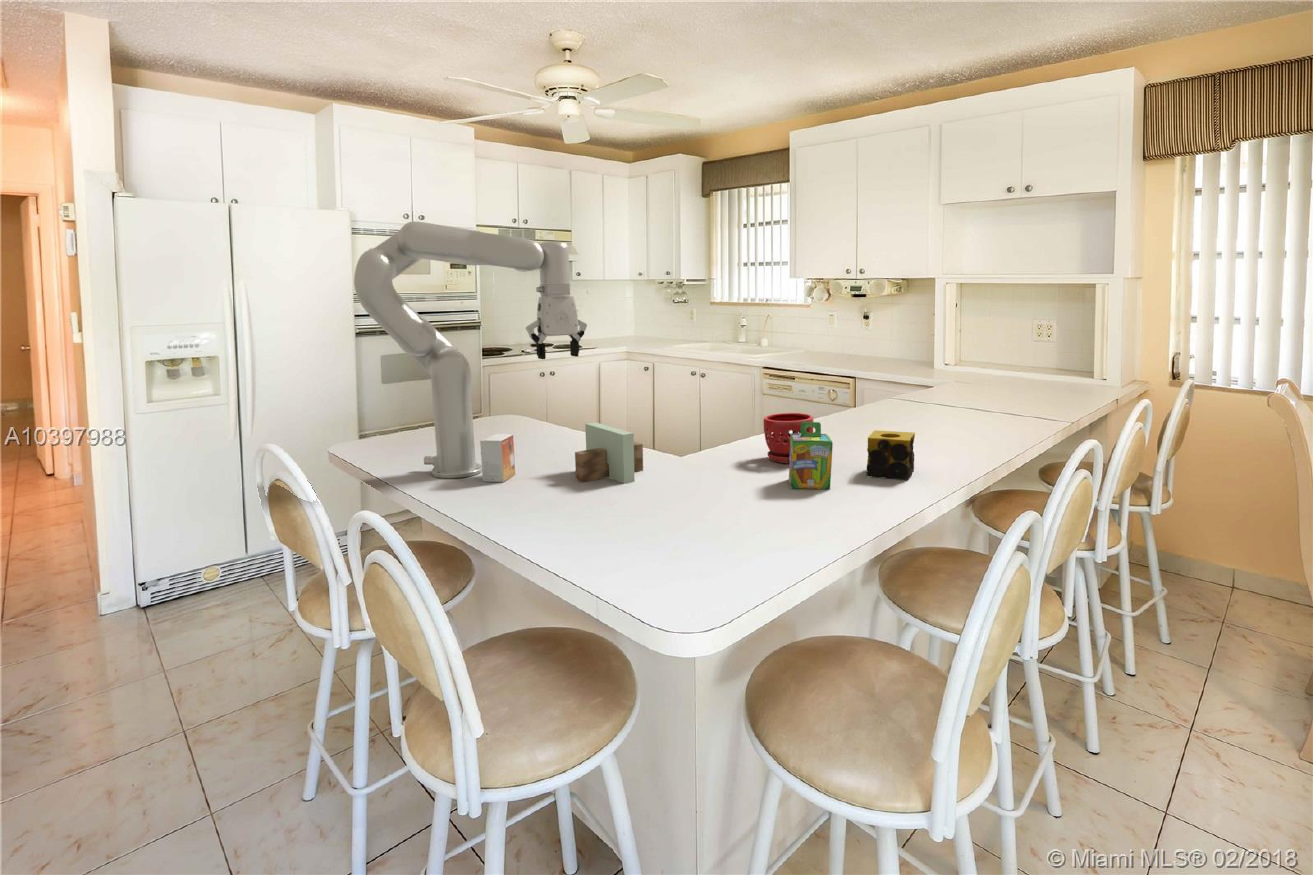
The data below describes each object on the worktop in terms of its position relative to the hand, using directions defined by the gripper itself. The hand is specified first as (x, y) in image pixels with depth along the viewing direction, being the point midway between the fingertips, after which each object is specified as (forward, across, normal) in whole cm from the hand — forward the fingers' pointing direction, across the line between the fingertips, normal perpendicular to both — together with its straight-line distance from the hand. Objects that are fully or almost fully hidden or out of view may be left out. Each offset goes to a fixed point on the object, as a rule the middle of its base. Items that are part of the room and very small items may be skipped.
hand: (558, 357), depth 194 cm
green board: (+28, +3, -20) cm, 35 cm away
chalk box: (+29, +35, -57) cm, 73 cm away
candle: (+29, +58, -62) cm, 90 cm away
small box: (+29, -20, -5) cm, 36 cm away
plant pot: (+29, +49, -36) cm, 67 cm away
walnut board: (+28, +3, -20) cm, 35 cm away
